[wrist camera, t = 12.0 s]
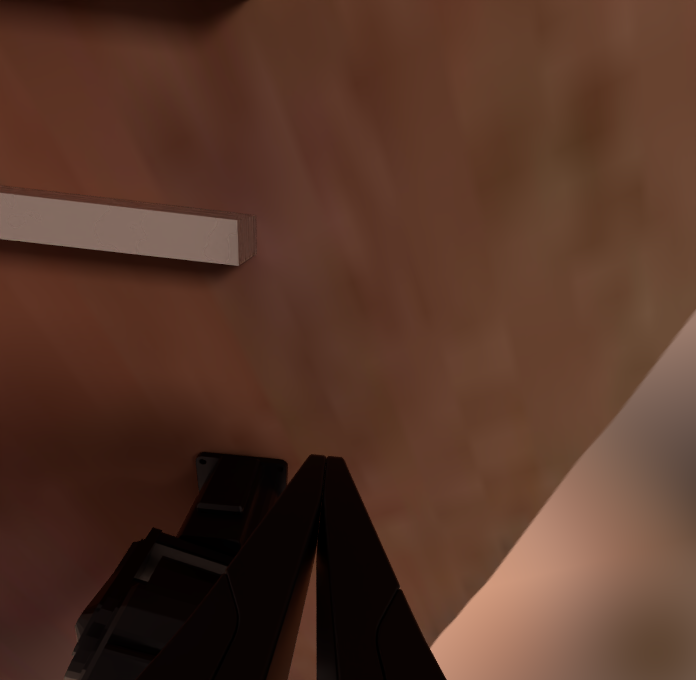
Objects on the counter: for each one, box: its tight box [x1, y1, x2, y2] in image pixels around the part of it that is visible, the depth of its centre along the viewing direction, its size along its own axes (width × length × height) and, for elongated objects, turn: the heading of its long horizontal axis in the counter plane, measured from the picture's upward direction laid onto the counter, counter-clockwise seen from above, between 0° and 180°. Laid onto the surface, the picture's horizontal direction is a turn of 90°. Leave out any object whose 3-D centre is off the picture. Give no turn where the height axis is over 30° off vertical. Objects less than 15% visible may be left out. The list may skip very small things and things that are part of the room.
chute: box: [0, 186, 256, 266], centre depth 14 cm, size 13×18×3 cm
